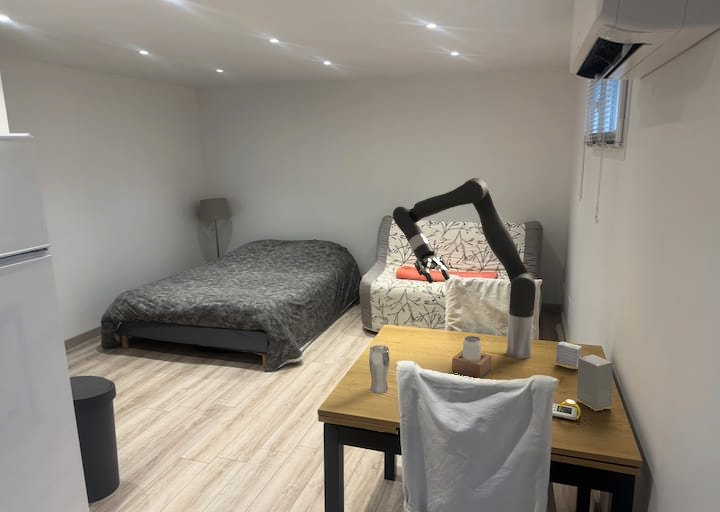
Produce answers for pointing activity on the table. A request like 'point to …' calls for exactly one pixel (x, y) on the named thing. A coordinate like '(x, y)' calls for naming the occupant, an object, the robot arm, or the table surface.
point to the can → (472, 348)
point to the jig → (471, 366)
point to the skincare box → (595, 381)
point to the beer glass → (379, 368)
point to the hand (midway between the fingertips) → (440, 280)
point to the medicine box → (568, 354)
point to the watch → (571, 403)
